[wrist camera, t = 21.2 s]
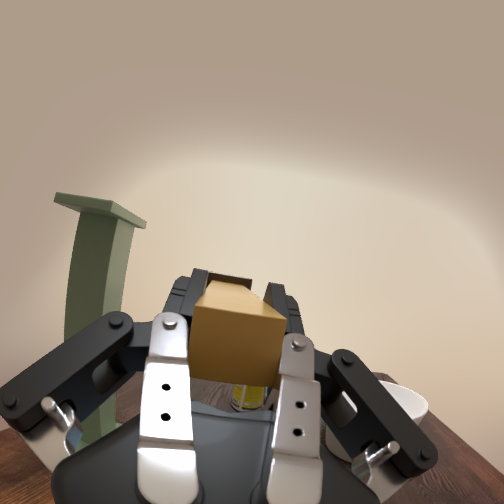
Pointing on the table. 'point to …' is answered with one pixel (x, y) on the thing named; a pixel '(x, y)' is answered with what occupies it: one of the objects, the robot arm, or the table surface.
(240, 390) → the pill bottle
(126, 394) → the table surface
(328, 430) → the bowl
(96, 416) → the stand
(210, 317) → the brass bolt
